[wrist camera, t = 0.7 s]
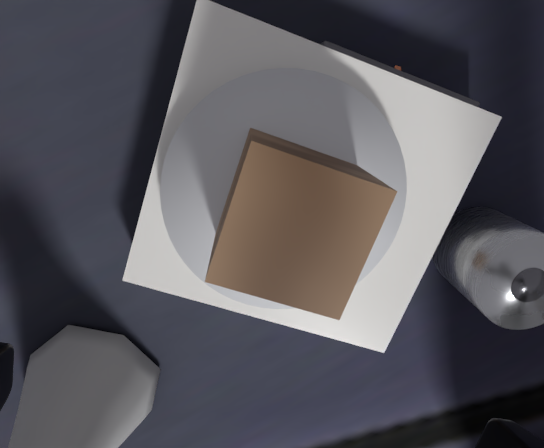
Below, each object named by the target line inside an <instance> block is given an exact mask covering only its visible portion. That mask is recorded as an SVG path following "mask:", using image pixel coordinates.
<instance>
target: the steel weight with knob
mask: <svg viewBox="0 0 544 448" xmlns="http://www.w3.org/2000/svg"><path fill="white" fill-rule="evenodd" d="M433 261H434V264H435V266H436V268H437V270H438V271H439V273H440V274H441V275H442V276H443V277H444V278H445V279H447V280H448V281H449V282H450V283H451V284H452V285H453V286H454V287H455V288H456V289H457V290H458V291H459V292H460V293H461V294H463V295H464V296H465V297H466V298H467V299H468V300H469V301H470V302H471V303H472V304H473V305H474V306H475V307H476V308H478V309H479V310H480V311H481V312H482V313H483V314H484V315H485V316H486V317H487V318H488V319H489V320H491V321H492V322H493V323H495V324H496V325H498V326H500V327H503V328H507V329H513V330H523V329H529V328H533V327H537V326H539V325H542V324H544V232H541V231H539V230H537V229H535V228H533V227H531V226H529V225H527V224H524V223H522V222H520V221H518V220H516V219H514V218H512V217H510V216H507V215H505V214H503V213H501V212H499V211H497V210H494V209H492V208H488V207H473V208H469V209H465V210H463V211H460V212H459V213H457V214H455V215H454V216H452V218H451V220H450V222H449V224H448V226H447V228H446V230H445V232H444V234H443V236H442V238H441V240H440V242H439V244H438V246H437V248H436V250H435V252H434V254H433Z"/></svg>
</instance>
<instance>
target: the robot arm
mask: <svg viewBox="0 0 544 448" xmlns="http://www.w3.org/2000/svg"><path fill="white" fill-rule="evenodd" d="M13 362H14V349H13V346H12V345H10V344H8V343H2V342H0V411H1V409H2V407H3V405H4V404H5V402H6V400H7V398H8V396H9V394H10V391H11V388H12V382H13ZM475 448H544V442H543V441H542V440H540V439H539V438H537V437H536V436H535V435H533V434H532V433H530V432H529V431H527V430H526V429H524V428H523V427H522V426H520V425H519V424H517V423H516V422H514V421H511V420H506V419H499V418H493V419H491V420H489V421H488V423H487V424H486V426H485V428H484V430H483V432H482V435H481V437H480V439H479V441H478V443H477V445H476V447H475Z"/></svg>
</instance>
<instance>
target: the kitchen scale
mask: <svg viewBox="0 0 544 448" xmlns="http://www.w3.org/2000/svg"><path fill="white" fill-rule="evenodd" d="M479 104H480V102H478V101H475V100H473V99H470V98H468V97H465V96H463V95H460V94H458V93H455V92H453V91H450V90H448V89H445V88H443V87H440V86H438V85H435V84H433V83H430V82H428V81H425V80H423V79H420V78H418V77H415V76H413V75H410V74H408V73H405V72H403V71H402V69H401V67H400V66H396V65H395V67H394V68H393V67H390V66H388V65H385V64H383V63H380V62H378V61H375V60H373V59H370V58H368V57H365V56H363V55H360V54H358V53H355V52H353V51H350V50H348V49H345V48H343V47H340V46H338V45H335V44H333V43H330V42H328V41H324V42H322V43H321V44H318V43H315V42H313V41H310V40H308V39H305V38H302V37H300V36H297V35H295V34H292V33H290V32H287V31H285V30H282V29H280V28H277V27H275V26H272V25H270V24H267V23H265V22H262V21H260V20H257V19H255V18H252V17H250V16H247V15H245V14H242V13H240V12H237V11H235V10H232V9H230V8H227V7H225V6H222V5H220V4H217V3H215V2H212V1H210V0H197V1H196V5H195V8H194V12H193V16H192V20H191V23H190V27H189V31H188V35H187V39H186V42H185V46H184V50H183V54H182V57H181V61H180V65H179V69H178V72H177V76H176V80H175V84H174V88H173V91H172V95H171V99H170V103H169V106H168V110H167V114H166V118H165V122H164V125H163V129H162V133H161V137H160V140H159V144H158V148H157V152H156V156H155V159H154V163H153V167H152V171H151V174H150V178H149V182H148V186H147V190H146V193H145V197H144V201H143V205H142V208H141V212H140V216H139V220H138V224H137V227H136V231H135V235H134V239H133V242H132V246H131V250H130V254H129V257H128V261H127V265H126V269H125V273H124V276H123V280H122V281H126V282H130V283H133V284H137V285H141V286H144V287H148V288H151V289H155V290H159V291H162V292H166V293H169V294H173V295H177V296H180V297H184V298H188V299H191V300H195V301H198V302H202V303H206V304H209V305H213V306H216V307H220V308H224V309H227V310H231V311H235V312H238V313H242V314H245V315H249V316H253V317H256V318H260V319H263V320H267V321H271V322H274V323H278V324H282V325H285V326H289V327H292V328H296V329H300V330H303V331H307V332H310V333H314V334H318V335H321V336H325V337H329V338H332V339H336V340H339V341H343V342H347V343H350V344H354V345H357V346H361V347H365V348H368V349H372V350H376V351H379V352H383V353H384V352H385V350H386V348H387V346H388V344H389V342H390V340H391V338H392V336H393V334H394V332H395V330H396V328H397V326H398V324H399V322H400V320H401V318H402V316H403V314H404V312H405V310H406V308H407V306H408V304H409V302H410V300H411V298H412V296H413V294H414V292H415V290H416V288H417V286H418V284H419V282H420V280H421V278H422V276H423V274H424V272H425V270H426V268H427V266H428V264H429V262H430V260H431V258H432V256H433V254H434V252H435V250H436V248H437V246H438V244H439V242H440V240H441V238H442V236H443V234H444V232H445V230H446V228H447V226H448V224H449V222H450V220H451V218H452V216H453V214H454V212H455V210H456V208H457V206H458V204H459V202H460V200H461V198H462V196H463V194H464V192H465V190H466V188H467V186H468V184H469V182H470V180H471V178H472V176H473V174H474V172H475V170H476V168H477V166H478V164H479V162H480V160H481V158H482V156H483V154H484V152H485V150H486V148H487V146H488V144H489V142H490V140H491V138H492V136H493V134H494V132H495V130H496V128H497V126H498V124H499V122H500V120H501V118H502V117H501V116H498V115H496V114H493V113H491V112H488V111H486V110H483V109H481V108H478V106H479ZM250 128H253V129H256V130H259V131H262V132H264V133H267V134H270V135H273V136H276V137H279V138H281V139H284V140H287V141H290V142H293V143H296V144H298V145H301V146H304V147H307V148H310V149H313V150H315V151H318V152H321V153H324V154H327V155H330V156H332V157H335V158H338V159H341V160H344V161H347V162H349V163H352V164H355V165H358V166H359V167H361V168H362V169H364V170H365V171H367V172H368V173H370V174H371V175H373V176H375V177H376V178H378V179H379V180H381V181H382V182H384V183H385V184H387V185H388V186H390V187H391V188H393V189H394V190H396V191H397V194H396V196H395V198H394V200H393V203H392V205H391V207H390V209H389V212H388V214H387V216H386V218H385V220H384V223H383V225H382V227H381V229H380V231H379V234H378V236H377V238H376V240H375V243H374V245H373V247H372V249H371V251H370V254H369V256H368V258H367V260H366V263H365V265H364V267H363V269H362V271H361V274H360V276H359V278H358V280H357V283H356V285H355V287H354V289H353V291H352V294H351V296H350V298H349V300H348V303H347V305H346V307H345V309H344V311H343V314H342V316H341V318H340V320H336V319H333V318H329V317H326V316H322V315H319V314H315V313H312V312H308V311H305V310H301V309H298V308H294V307H291V306H287V305H284V304H280V303H277V302H273V301H270V300H266V299H263V298H259V297H256V296H252V295H249V294H245V293H242V292H238V291H235V290H231V289H228V288H224V287H221V286H217V285H214V284H210V283H207V282H205V278H206V274H207V269H208V265H209V261H210V256H211V252H212V247H213V243H214V238H215V234H216V231H217V228H218V225H219V221H220V218H221V215H222V212H223V209H224V206H225V203H226V200H227V197H228V194H229V191H230V188H231V185H232V182H233V179H234V176H235V172H236V169H237V166H238V163H239V160H240V157H241V154H242V151H243V148H244V145H245V142H246V139H247V136H248V133H249V130H250Z"/></svg>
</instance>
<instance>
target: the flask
mask: <svg viewBox="0 0 544 448" xmlns="http://www.w3.org/2000/svg"><path fill="white" fill-rule="evenodd" d="M160 370H161V369H160V368H159V367H158V366H157V365H156V364H154V363H153V362H152V361H151V360H150V359H149V358H148V357H147V356H146V355H145V354H144V353H143V352H141V351H140V350H139V349H138V348H137V347H136V346H135V345H134V344H133V343H132V342H131V341H129V340H128V339H127V338H126V337H125V336H124V335H120V334H115V333H110V332H104V331H99V330H94V329H89V328H83V327H78V326H73V325H67V326H66V327H65V328H64V329H62V330H61V331H60V332H59V333H57V334H56V335H55V336H53V337H52V338H51V339H50V340H48V341H47V342H46V343H45V344H43V345H42V346H41V347H40V348H38V349H37V350H36V351H35V352H33V353H32V354H31V355H30V359H29V362H28V366H27V371H26V375H25V380H24V385H23V389H22V394H21V399H20V403H19V408H18V412H17V416H16V420H15V424H14V428H13V431H12V435H11V439H10V443H9V447H8V448H118V447H119V446H120V445H121V444H122V443H123V442H124V440H125V439H126V438H127V437H128V436H129V435H130V434H131V433H132V432H133V431H134V429H135V428H136V427H137V426H138V425H139V424H140V423H141V422H142V421H143V420H144V418H145V417H146V416H147V415H148V414H149V413H150V411H151V410H152V406H153V402H154V397H155V393H156V388H157V383H158V379H159V374H160Z"/></svg>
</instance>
